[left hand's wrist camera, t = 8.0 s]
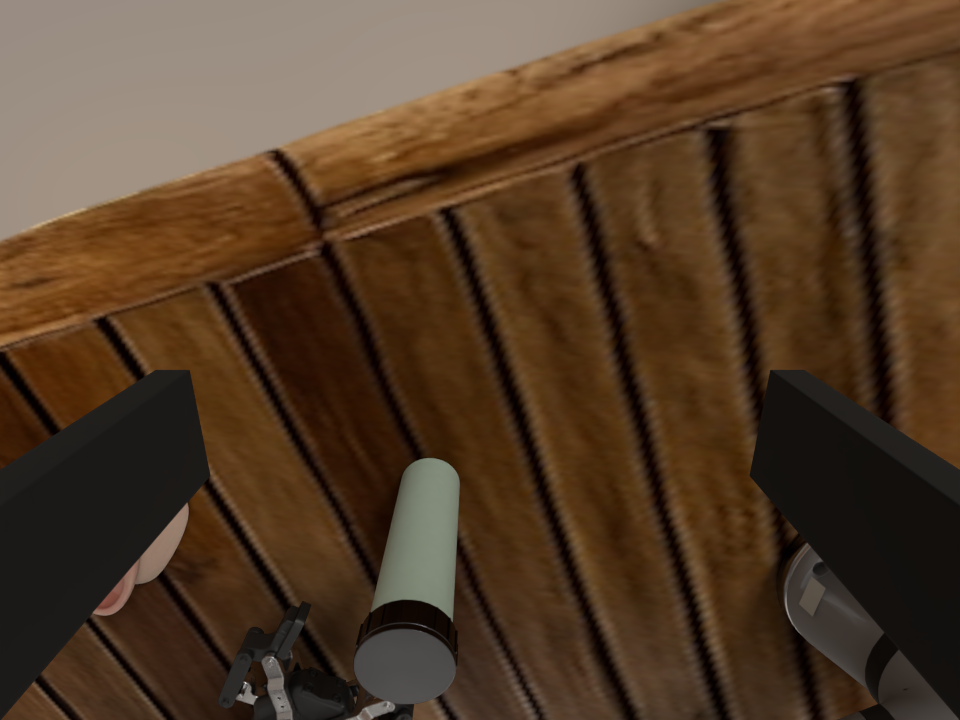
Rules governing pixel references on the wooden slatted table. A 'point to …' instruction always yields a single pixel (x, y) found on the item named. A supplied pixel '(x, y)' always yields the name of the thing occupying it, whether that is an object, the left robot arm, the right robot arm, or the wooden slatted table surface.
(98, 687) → the wooden slatted table surface
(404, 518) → the pale green cylinder
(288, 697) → the right robot arm
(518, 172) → the wooden slatted table surface
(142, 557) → the anatomical model
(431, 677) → the lid
